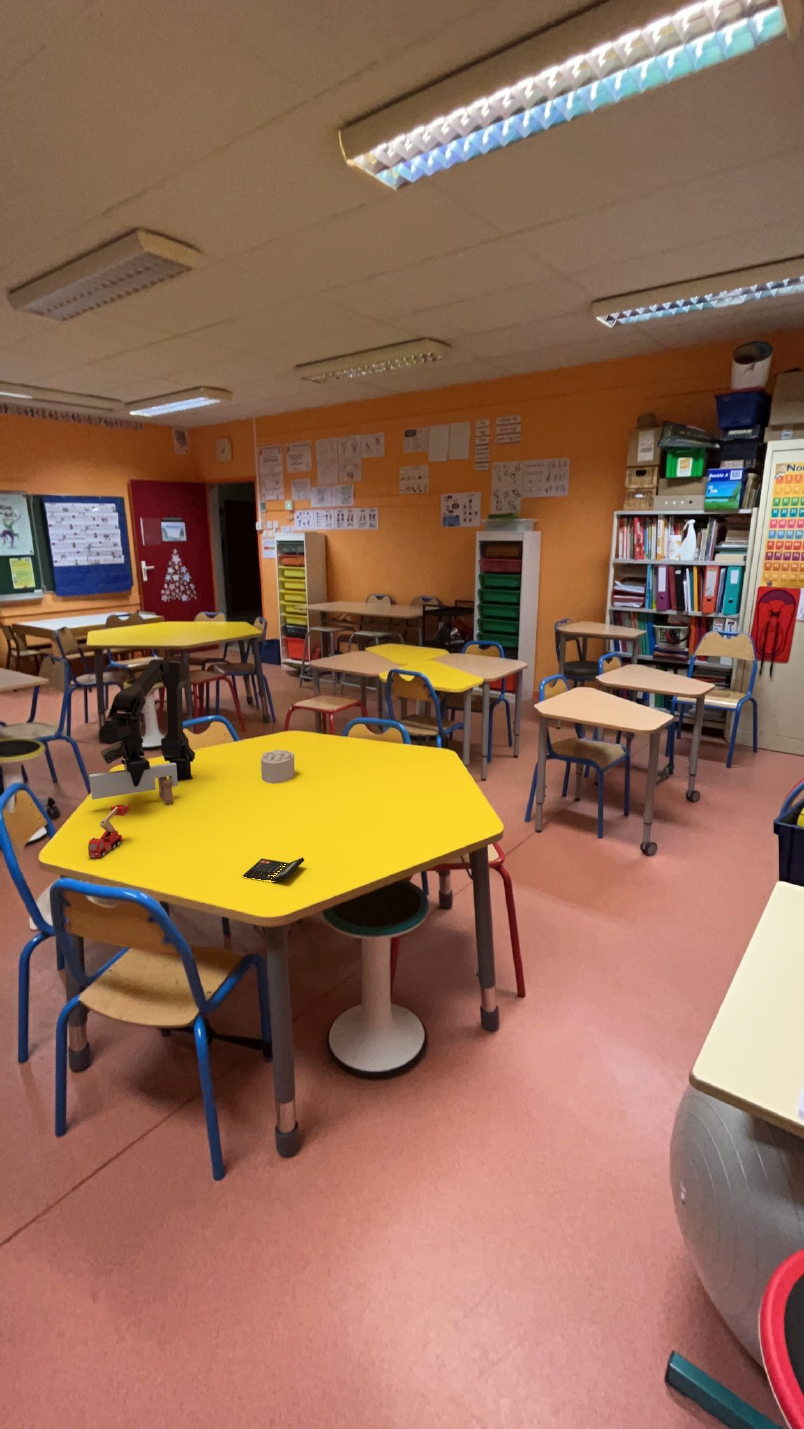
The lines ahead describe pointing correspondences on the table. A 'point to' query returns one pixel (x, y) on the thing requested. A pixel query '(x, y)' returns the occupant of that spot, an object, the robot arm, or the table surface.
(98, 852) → the toy fire truck
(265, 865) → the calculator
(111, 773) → the grey board
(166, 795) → the walnut stand
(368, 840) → the table surface
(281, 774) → the lumpy-topped squat cylinder
